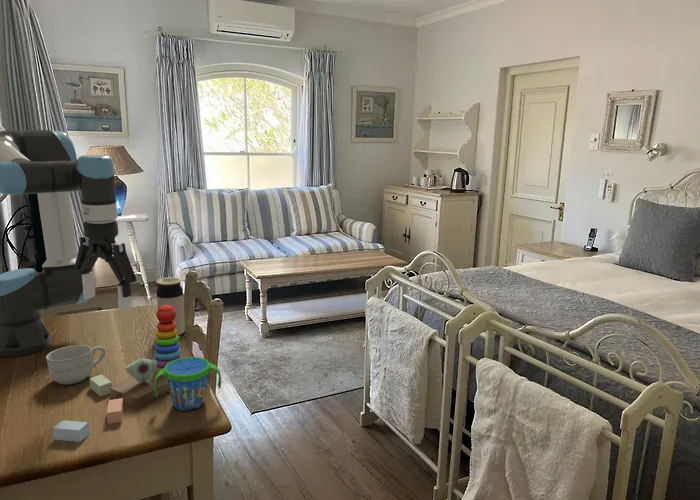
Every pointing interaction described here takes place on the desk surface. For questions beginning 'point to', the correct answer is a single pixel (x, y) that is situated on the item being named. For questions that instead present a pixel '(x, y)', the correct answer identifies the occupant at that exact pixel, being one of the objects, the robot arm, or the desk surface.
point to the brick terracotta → (115, 411)
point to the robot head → (141, 369)
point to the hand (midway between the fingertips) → (107, 303)
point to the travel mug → (172, 299)
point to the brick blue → (71, 431)
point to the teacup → (72, 363)
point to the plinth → (139, 390)
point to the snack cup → (187, 381)
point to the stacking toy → (166, 338)
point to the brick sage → (100, 385)
